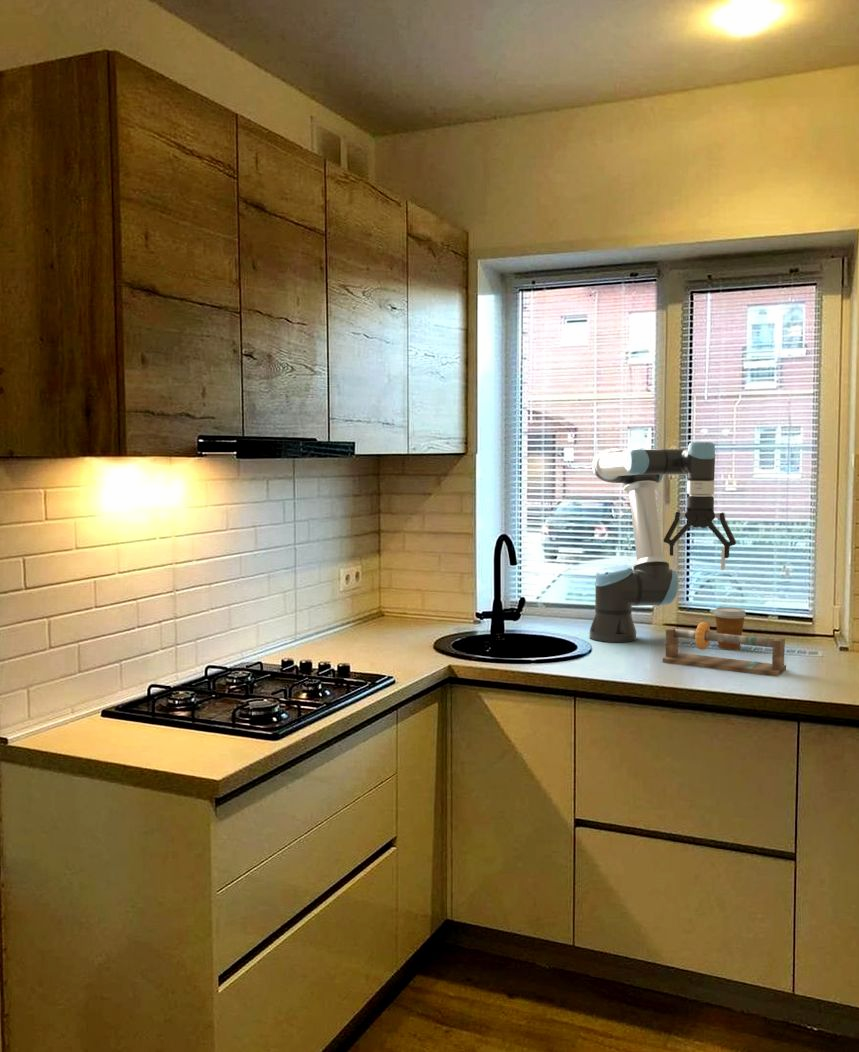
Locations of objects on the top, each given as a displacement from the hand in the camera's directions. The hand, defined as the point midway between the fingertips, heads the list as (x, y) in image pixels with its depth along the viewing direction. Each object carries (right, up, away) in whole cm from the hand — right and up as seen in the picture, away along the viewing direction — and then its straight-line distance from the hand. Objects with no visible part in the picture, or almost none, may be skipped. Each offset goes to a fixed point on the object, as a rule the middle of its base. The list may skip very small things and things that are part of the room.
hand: (698, 568), depth 274 cm
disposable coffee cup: (+15, -26, +19) cm, 35 cm away
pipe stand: (+5, -27, -7) cm, 29 cm away
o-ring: (0, -23, -4) cm, 24 cm away
